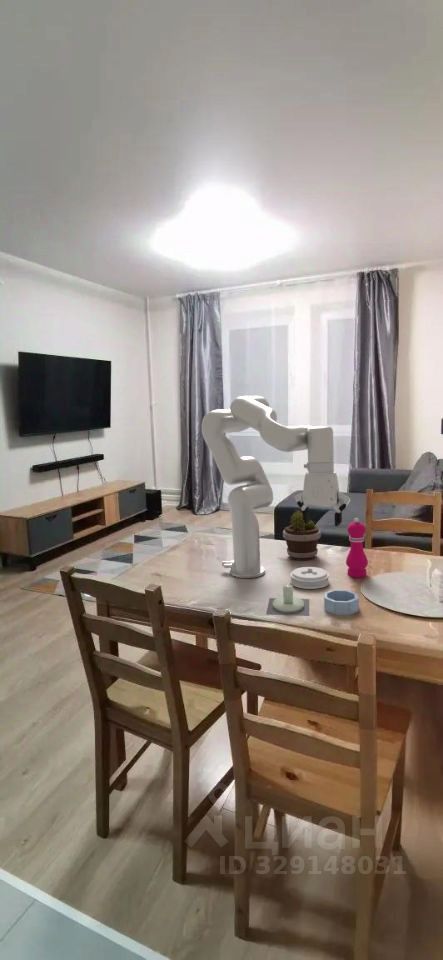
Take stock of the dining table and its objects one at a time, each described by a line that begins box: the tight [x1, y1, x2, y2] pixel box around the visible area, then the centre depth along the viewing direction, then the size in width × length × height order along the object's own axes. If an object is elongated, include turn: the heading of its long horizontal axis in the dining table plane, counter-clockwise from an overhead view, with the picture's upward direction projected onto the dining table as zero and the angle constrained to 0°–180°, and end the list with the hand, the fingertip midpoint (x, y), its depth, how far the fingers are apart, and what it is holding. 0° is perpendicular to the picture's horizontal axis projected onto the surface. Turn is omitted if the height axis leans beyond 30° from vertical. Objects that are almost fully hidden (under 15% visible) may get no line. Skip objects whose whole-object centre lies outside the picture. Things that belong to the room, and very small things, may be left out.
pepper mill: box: [345, 517, 369, 578], centre depth 166 cm, size 7×7×20 cm
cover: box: [273, 583, 304, 613], centre depth 142 cm, size 9×9×6 cm
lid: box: [289, 566, 330, 590], centre depth 160 cm, size 13×13×5 cm
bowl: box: [323, 589, 360, 616], centre depth 139 cm, size 9×9×4 cm
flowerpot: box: [282, 510, 322, 561], centre depth 189 cm, size 14×15×20 cm
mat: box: [265, 597, 310, 617], centre depth 142 cm, size 12×12×1 cm
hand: (322, 523), depth 147 cm, fingers open, 9 cm apart
